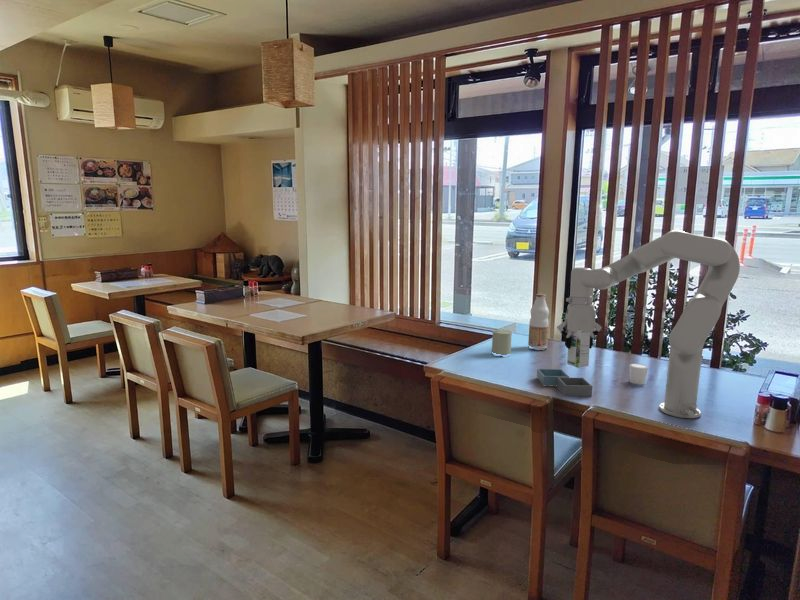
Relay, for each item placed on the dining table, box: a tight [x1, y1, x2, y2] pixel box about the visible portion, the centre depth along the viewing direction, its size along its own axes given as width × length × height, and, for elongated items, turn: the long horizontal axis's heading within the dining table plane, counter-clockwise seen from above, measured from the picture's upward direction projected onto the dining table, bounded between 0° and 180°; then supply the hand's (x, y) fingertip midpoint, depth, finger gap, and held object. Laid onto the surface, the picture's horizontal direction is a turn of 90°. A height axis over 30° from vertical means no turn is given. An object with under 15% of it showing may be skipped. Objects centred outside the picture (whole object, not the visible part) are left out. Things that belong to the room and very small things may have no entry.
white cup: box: [628, 363, 649, 386], centre depth 205 cm, size 7×7×7 cm
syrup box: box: [566, 329, 590, 368], centre depth 190 cm, size 6×6×14 cm
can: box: [491, 329, 513, 355], centre depth 243 cm, size 9×9×12 cm
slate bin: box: [536, 368, 570, 386], centre depth 203 cm, size 10×10×4 cm
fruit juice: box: [527, 293, 550, 349], centre depth 255 cm, size 9×9×28 cm
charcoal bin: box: [556, 377, 593, 397], centre depth 192 cm, size 10×10×4 cm
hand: (578, 347), depth 190 cm, fingers closed on syrup box, 7 cm apart
